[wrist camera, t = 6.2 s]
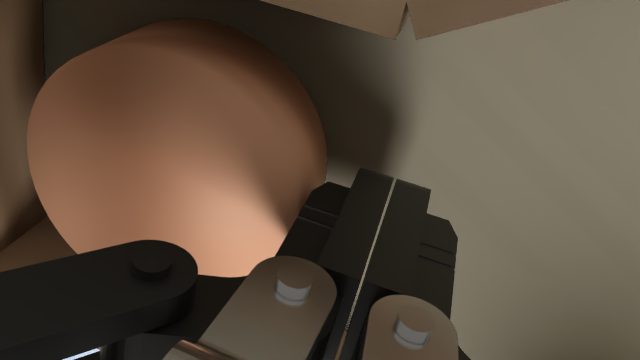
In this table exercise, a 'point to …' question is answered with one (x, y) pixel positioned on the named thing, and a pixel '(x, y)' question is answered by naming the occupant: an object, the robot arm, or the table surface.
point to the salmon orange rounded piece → (177, 145)
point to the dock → (28, 78)
